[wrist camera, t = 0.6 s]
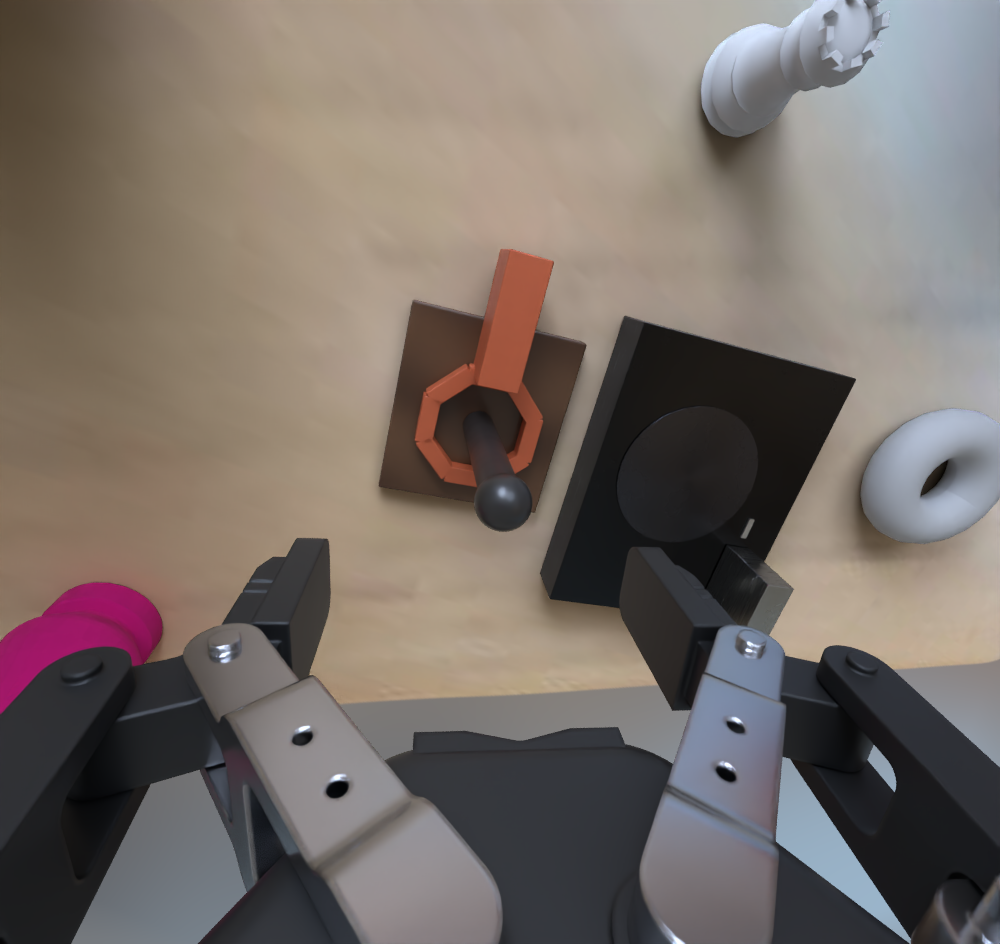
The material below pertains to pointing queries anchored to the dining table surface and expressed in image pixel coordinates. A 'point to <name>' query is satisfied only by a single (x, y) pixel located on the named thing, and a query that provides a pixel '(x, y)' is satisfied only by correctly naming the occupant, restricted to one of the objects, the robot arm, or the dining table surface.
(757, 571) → the knob
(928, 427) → the donut
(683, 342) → the stove
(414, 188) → the dining table surface
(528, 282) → the hanging ring
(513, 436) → the peg stand
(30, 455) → the dining table surface
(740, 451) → the burner
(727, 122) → the rook chess piece
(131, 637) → the pepper mill
